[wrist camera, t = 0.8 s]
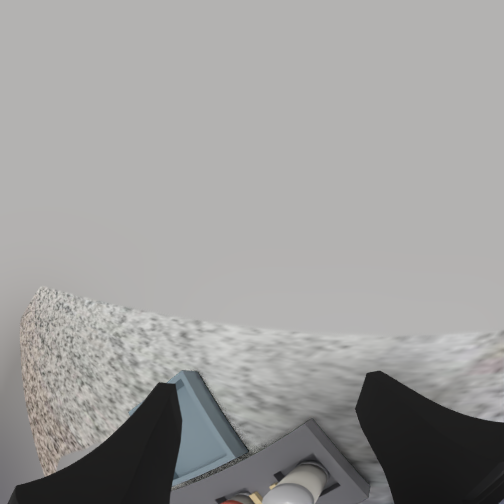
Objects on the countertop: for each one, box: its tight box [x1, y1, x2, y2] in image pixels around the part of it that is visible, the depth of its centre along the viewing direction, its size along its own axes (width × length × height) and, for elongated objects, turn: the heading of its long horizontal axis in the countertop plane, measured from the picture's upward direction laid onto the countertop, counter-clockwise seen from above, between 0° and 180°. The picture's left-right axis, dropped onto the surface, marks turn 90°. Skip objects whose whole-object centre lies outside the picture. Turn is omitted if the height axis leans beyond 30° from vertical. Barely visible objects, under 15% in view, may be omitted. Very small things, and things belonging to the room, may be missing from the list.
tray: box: [128, 370, 248, 486], centre depth 22 cm, size 10×10×2 cm
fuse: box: [262, 460, 330, 504], centre depth 13 cm, size 3×3×6 cm
